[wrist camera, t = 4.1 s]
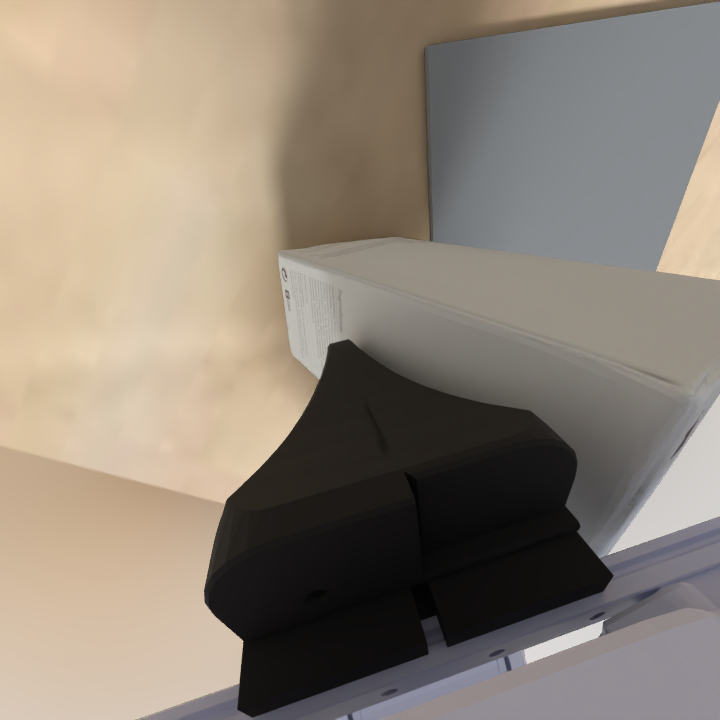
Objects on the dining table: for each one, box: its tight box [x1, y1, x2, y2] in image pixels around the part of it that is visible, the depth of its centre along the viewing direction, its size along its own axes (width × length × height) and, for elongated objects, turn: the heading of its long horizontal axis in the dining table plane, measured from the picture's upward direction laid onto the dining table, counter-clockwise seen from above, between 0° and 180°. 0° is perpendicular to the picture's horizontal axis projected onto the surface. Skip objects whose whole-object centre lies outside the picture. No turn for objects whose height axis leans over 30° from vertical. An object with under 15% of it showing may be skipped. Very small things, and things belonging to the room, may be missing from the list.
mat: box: [425, 1, 720, 272], centre depth 20 cm, size 20×18×1 cm
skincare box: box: [277, 237, 720, 558], centre depth 12 cm, size 8×6×15 cm
